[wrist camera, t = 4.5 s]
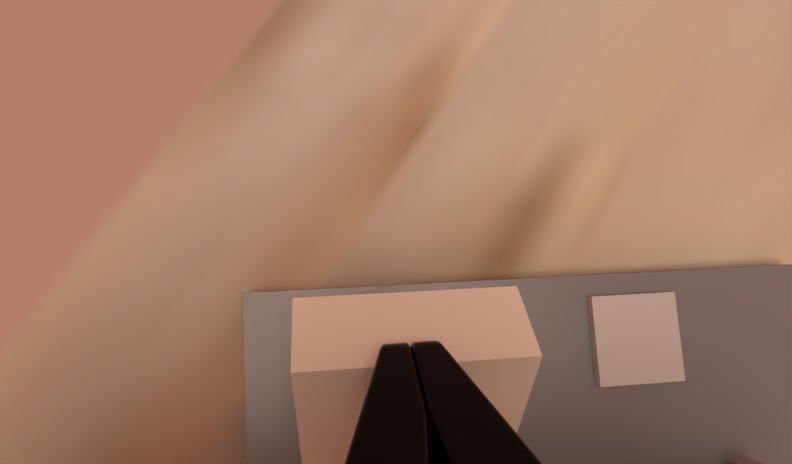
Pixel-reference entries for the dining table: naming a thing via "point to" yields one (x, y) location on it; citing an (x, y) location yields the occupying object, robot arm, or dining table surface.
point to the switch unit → (599, 367)
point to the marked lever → (407, 323)
